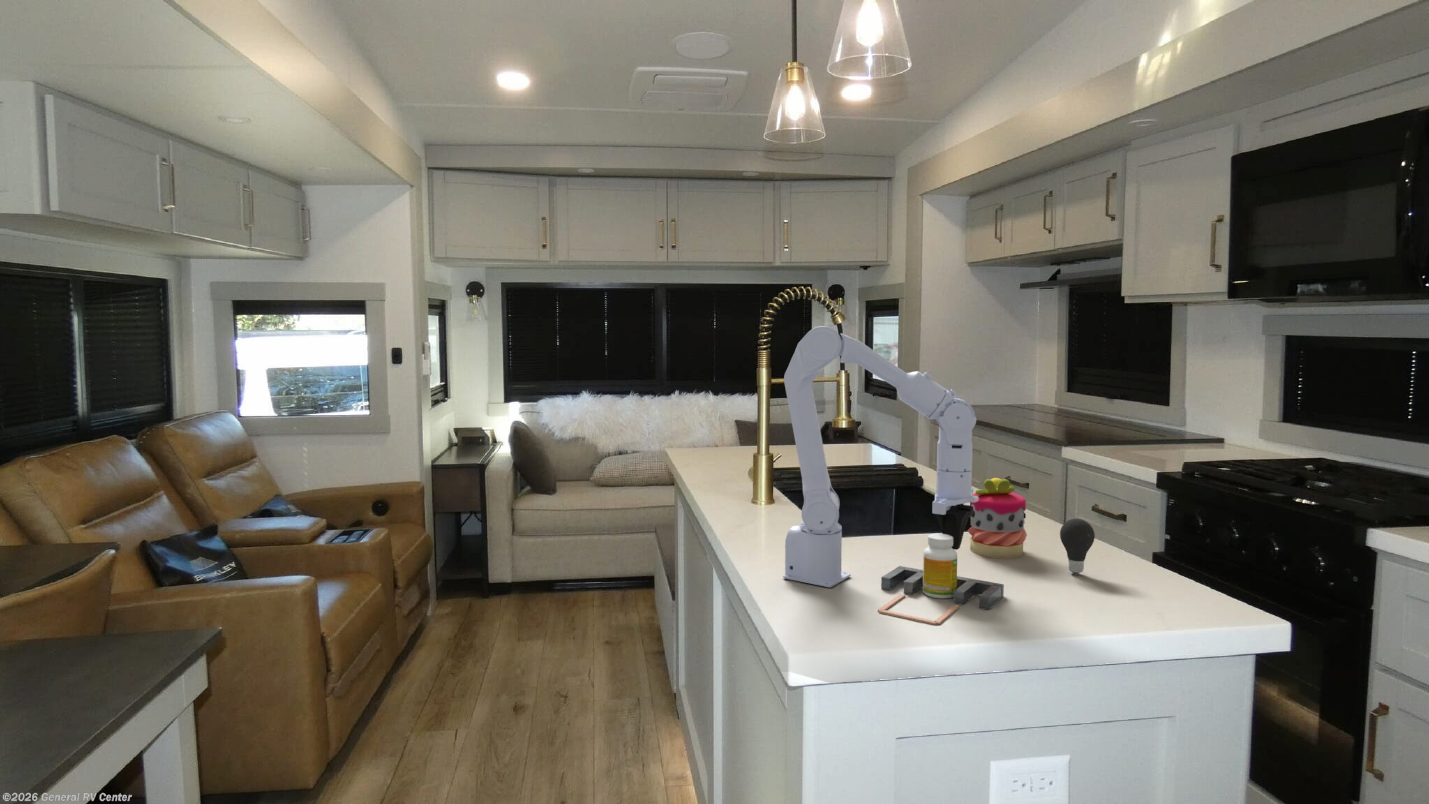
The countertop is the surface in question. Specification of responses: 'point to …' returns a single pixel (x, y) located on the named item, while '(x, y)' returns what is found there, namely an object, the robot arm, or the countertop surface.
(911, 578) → the rail
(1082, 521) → the light bulb
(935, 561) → the supplement bottle
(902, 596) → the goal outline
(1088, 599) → the countertop surface
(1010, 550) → the cake
